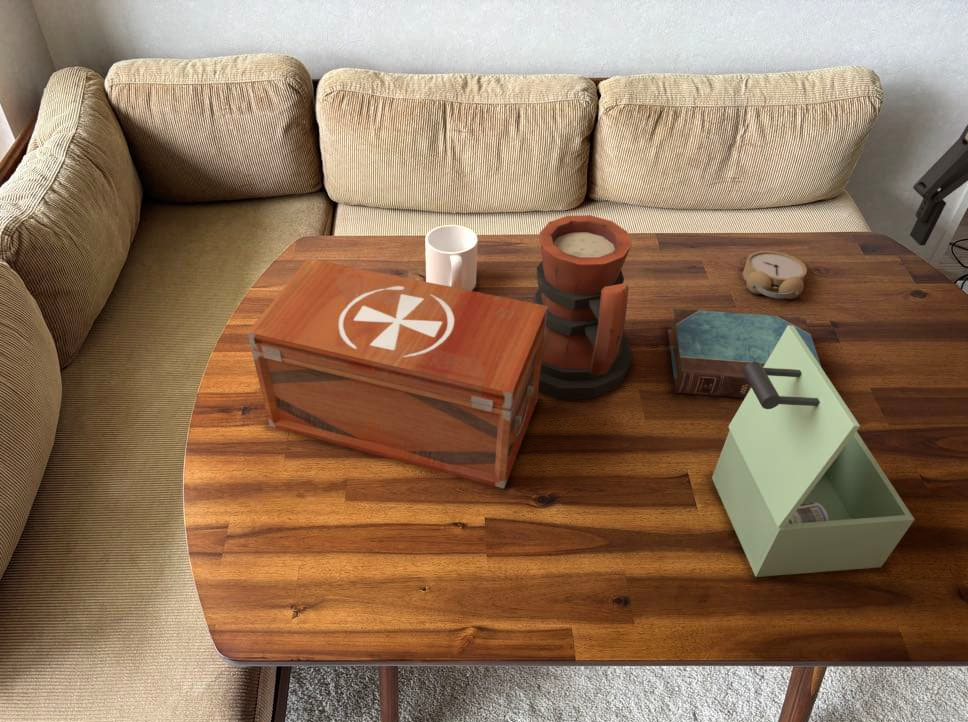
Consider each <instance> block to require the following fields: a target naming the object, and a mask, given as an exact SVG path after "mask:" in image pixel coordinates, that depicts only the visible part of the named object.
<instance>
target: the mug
mask: <svg viewBox="0 0 968 722" xmlns="http://www.w3.org/2000/svg"><path fill="white" fill-rule="evenodd" d="M424 238H425V241H424V243H425V244H424V245H425V249H424V250H425V282H429V283H434V284H439V285H444V286H449V287H454V288H459V289H464V290H469V291H474V289H475V288H476V285H477V269H478V268H477V266H478V265H477V263H478V235H477V234H476V232H474V231H473V230H472V229H471V228H468V227H466V226H462V225H459V224H445V225H439V226H437V227H434V228H433V229H431V230H429V231H428V232H427V233H426V235H425V237H424Z"/></svg>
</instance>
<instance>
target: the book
mask: <svg viewBox="0 0 968 722" xmlns="http://www.w3.org/2000/svg"><path fill="white" fill-rule="evenodd" d="M672 310H673V321H672V326H671V329H667V335H668V342H669V343H668V344H669V351H670V355H671V356H670V358H671V365H672V374H673V380H674V382H673V383H674V388H675V393H676V394H688V395H698V396H699V395H701V396H712V397H725V398H726V397H727V398H738V399H745V397H746V396H747V394H748V392H749V391H750V389H751V386H750V384H749V382H748V380H747V379H746V377H745V375H744V373H743V368H744V367H745V366H746V365H747V364H748V363H751V362H759V363H760V364H761V365H762V367H764V365H765V363H766V362H767V360H768V358H769V357H770V355H771V353H772V352H773V350H774V348H775V346H776V345H777V343H778V341H779V340H780V338H781V336H782V335H783V333H784V331H785V329H786V328H787V326H788V325H790V326H794V327H795V329H796V330H797V332H798V333H799V335H800V336H801V338H802V339H803V341H804V342H805V344H806V345H807V347H808V348H809V350H810V351H811V353H812V354H813V356H814V357H815V359H816V360H817V362H818V363H819V365H820V366H821V367H822V365H821V362H820V359H819V356H818V355H819V354H818V352H817V348H816V346H815V344H814V340H813V338H812V334H811V331H810V328H809V325H808V321H807V318H806V317H799V316H784V315H771V314H755V313H741V312H728V311H727V312H726V311H715V310H714V311H713V310H699V309H685V308H673V309H672Z"/></svg>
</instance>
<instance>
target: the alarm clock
mask: <svg viewBox="0 0 968 722" xmlns="http://www.w3.org/2000/svg"><path fill="white" fill-rule="evenodd" d="M807 272H808V268H807V266H806V264H805V263H804V262H803V261H802V260H800V259H798V258H797V257H795V256H793V255H790V254H788V253H784V252H780V251H775V250H760V251H756V252H752V253H751V254H749V255H747V258H746V260H745V265H744V268H743V271H742V278H743V279H744V280H745V282H746V287H747V290H748V291H749V292H751V293H752V294H753V295H757V296H758V295H759V296H760V295H763V296H765V297H769V298H772V299H784V300H793V299H796V298H798V297H799V296H800V295H801V294H802V292H803V291H804V288H805V283H804V279H805V277H806V275H807Z"/></svg>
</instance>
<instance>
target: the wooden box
mask: <svg viewBox="0 0 968 722" xmlns="http://www.w3.org/2000/svg"><path fill="white" fill-rule="evenodd" d="M547 307H548V306H545V305H540V304H535V303H533V302H529V301H524V300H519V299H514V298H509V297H504V296H499V295H494V294H489V293H484V292H479V291H475V290H472V291H469V290H464V289H459V288H454V287H449V286H444V285H439V284H434V283H429V282H426V281H423V280H419V279H413V278H409V277H404V276H398V275H394V274H388V273H384V272H378V271H374V270H369V269H364V268H358V267H354V266H353V267H352V266H348V265H343V264H339V263H334V262H328V261H323V260H317V259H313V258H307V259H306V260H305V261H304V263H303V264H302V265H301V266H300V268H299V269H298V270H297V271H296V272H295V274H294V275H293V276H292V277H291V278H290V280H289V281H288V282H287V283H286V284H285V285H284V286H283V288H282V289H281V290H280V292H279V293H278V295H276V297H274V299H273V300H272V302H271V303H269V304H268V306H267V307H266V309H265V310H264V311H263V313H261V315H259V317H258V318H257V319H256V321H255V322H254V323H253V324H252V326H251V327H250V328H249V329H248V331H247V337H248V341H249V345H250V348H251V353H252V358H253V363H254V366H255V370H256V374H257V375H256V376H257V379H258V382H259V387H260V392H261V396H262V400H263V405H264V408H265V413H266V417H267V421H268V425H269V427H271V428H274V429H278V430H282V431H285V432H289V433H292V434H297V435H300V436H303V437H308V438H312V439H316V440H319V441H323V442H327V443H330V444H335V445H338V446H342V447H346V448H350V449H353V450H357V451H360V452H363V453H364V452H365V453H368V454H372V455H375V456H380V457H383V458H386V459H391V460H394V461H398V462H403V463H406V464H409V465H413V466H417V467H421V468H425V469H428V470H431V471H435V472H439V473H443V474H447V475H451V476H455V477H458V478H461V479H466V480H470V481H474V482H478V483H481V484H485V485H489V486H493V487H497V488H499V489H505V488H506V485H507V483H508V479H509V478H510V474H511V472H512V469H513V466H514V464H515V462H516V458H517V457H518V453H519V450H520V448H521V445H522V442H523V440H524V437H525V434H526V432H527V429H528V426H529V423H530V421H531V418H532V417H533V413H534V410H535V408H536V406H537V402H538V395H539V392H538V387H539V379H540V370H541V361H542V352H543V343H544V335H545V327H546V324H545V323H546V316H547Z"/></svg>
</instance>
